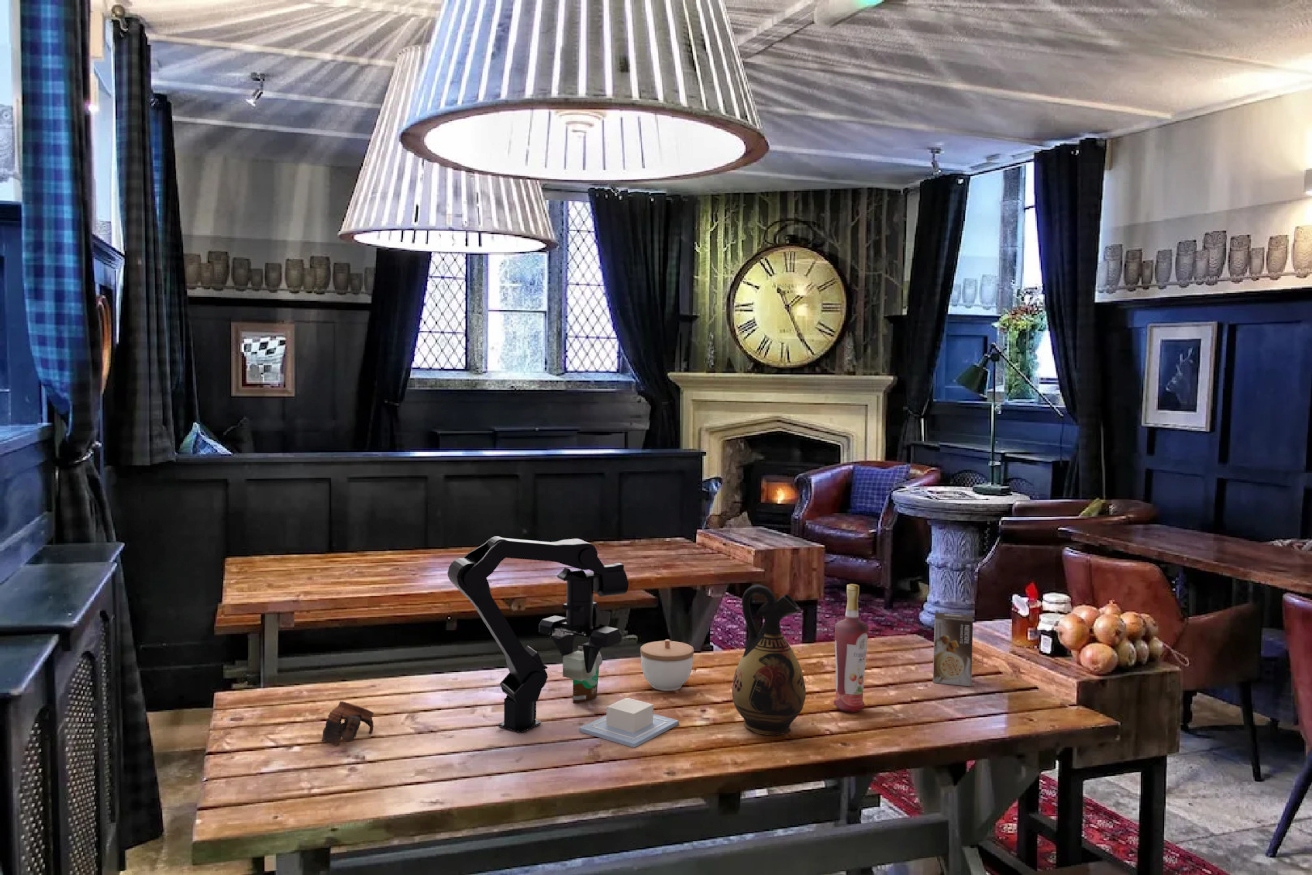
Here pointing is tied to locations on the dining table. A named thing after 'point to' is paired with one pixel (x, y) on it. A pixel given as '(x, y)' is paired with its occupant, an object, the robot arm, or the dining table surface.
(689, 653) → the lidded bowl
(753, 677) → the ceramic jug
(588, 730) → the blueprint board
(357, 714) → the brown bent piece
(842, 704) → the liquor
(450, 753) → the dining table surface
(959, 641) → the coffee box
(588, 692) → the food container
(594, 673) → the sage block
